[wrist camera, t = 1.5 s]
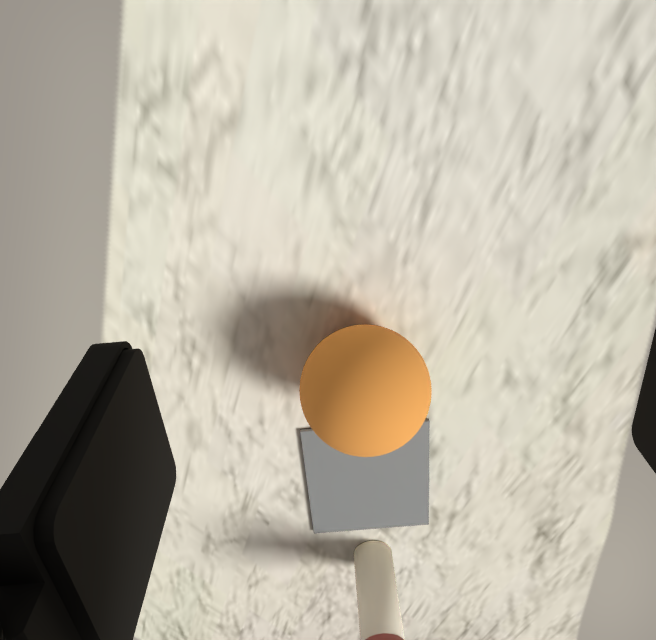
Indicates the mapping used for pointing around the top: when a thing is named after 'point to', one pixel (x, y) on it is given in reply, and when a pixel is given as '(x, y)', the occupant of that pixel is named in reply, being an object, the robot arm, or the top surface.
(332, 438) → the ball
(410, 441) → the grey flat plate
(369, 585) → the pin
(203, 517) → the top surface
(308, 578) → the top surface
